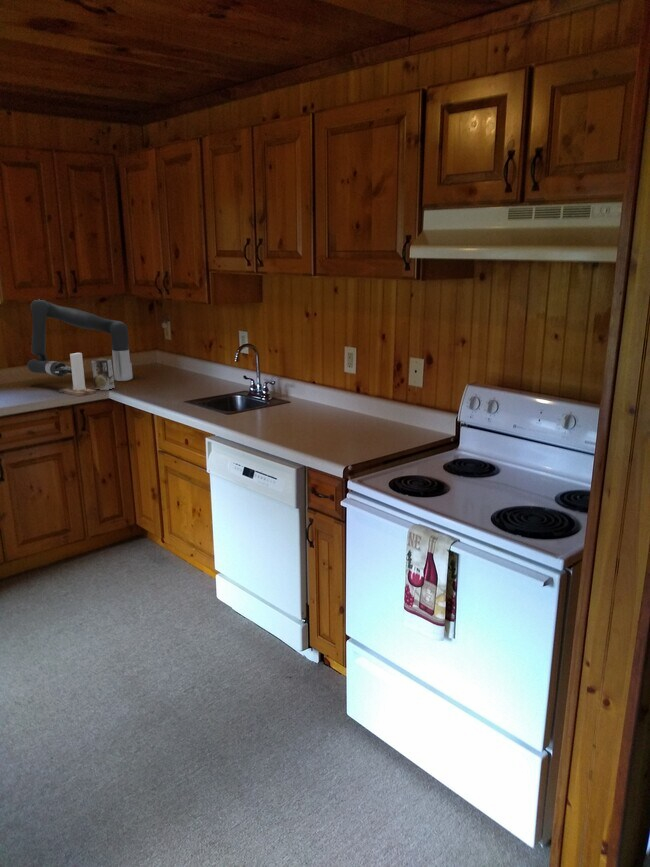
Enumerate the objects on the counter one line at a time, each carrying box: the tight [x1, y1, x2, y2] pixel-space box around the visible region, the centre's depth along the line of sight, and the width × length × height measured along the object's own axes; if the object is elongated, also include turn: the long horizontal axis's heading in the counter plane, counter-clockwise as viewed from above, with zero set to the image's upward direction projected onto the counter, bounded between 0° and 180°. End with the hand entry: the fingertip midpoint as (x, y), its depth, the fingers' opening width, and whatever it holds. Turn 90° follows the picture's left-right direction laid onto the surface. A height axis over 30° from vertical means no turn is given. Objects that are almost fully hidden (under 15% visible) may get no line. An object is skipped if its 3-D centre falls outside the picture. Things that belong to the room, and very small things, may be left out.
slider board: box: [58, 386, 97, 397], centre depth 347 cm, size 10×17×2 cm, turn 56°
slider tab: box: [69, 352, 87, 391], centre depth 343 cm, size 5×4×19 cm
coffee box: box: [91, 358, 116, 391], centre depth 354 cm, size 9×6×16 cm
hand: (76, 372), depth 344 cm, fingers closed
